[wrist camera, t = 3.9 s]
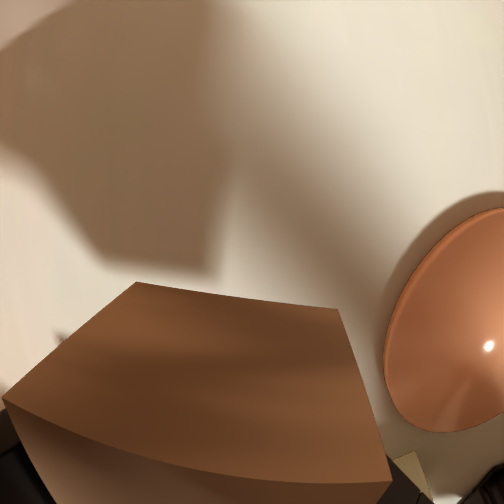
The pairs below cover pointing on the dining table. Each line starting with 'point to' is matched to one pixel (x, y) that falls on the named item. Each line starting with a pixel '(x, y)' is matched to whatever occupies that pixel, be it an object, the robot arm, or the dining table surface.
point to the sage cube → (414, 471)
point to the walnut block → (201, 406)
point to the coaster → (451, 331)
